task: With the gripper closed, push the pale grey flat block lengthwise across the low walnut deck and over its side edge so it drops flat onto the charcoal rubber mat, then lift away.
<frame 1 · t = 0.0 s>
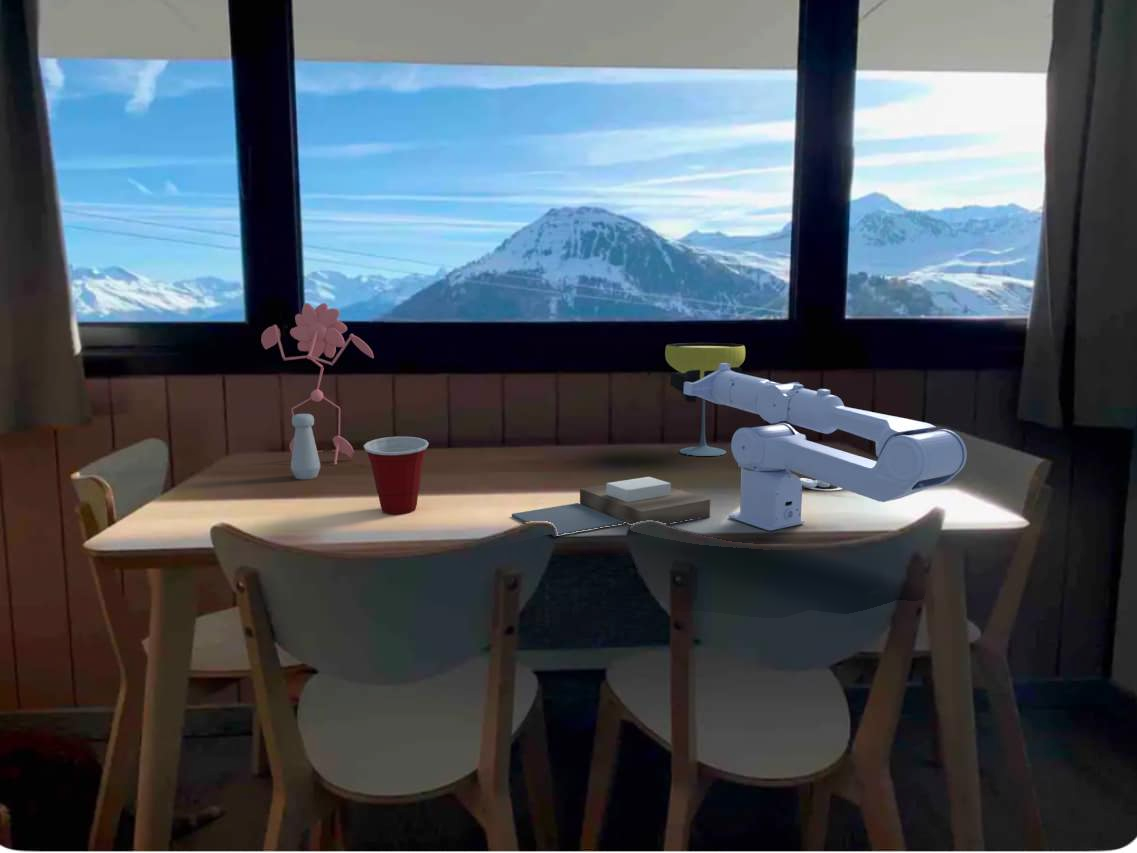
hand: (688, 377, 144), 22 cm above the table, tool horizontal, fingers open, 7 cm apart
salt shaker: (306, 478, 164), on the table
teacup and saucer: (810, 486, 157), on the table
plastic cup: (399, 511, 138), on the table
deck: (642, 511, 137), on the table
cocktail glass: (702, 453, 188), on the table
mat: (566, 520, 132), on the table
pale grey flat block: (638, 494, 136), point 3 cm above the table, touching deck
figurine: (327, 459, 183), on the table
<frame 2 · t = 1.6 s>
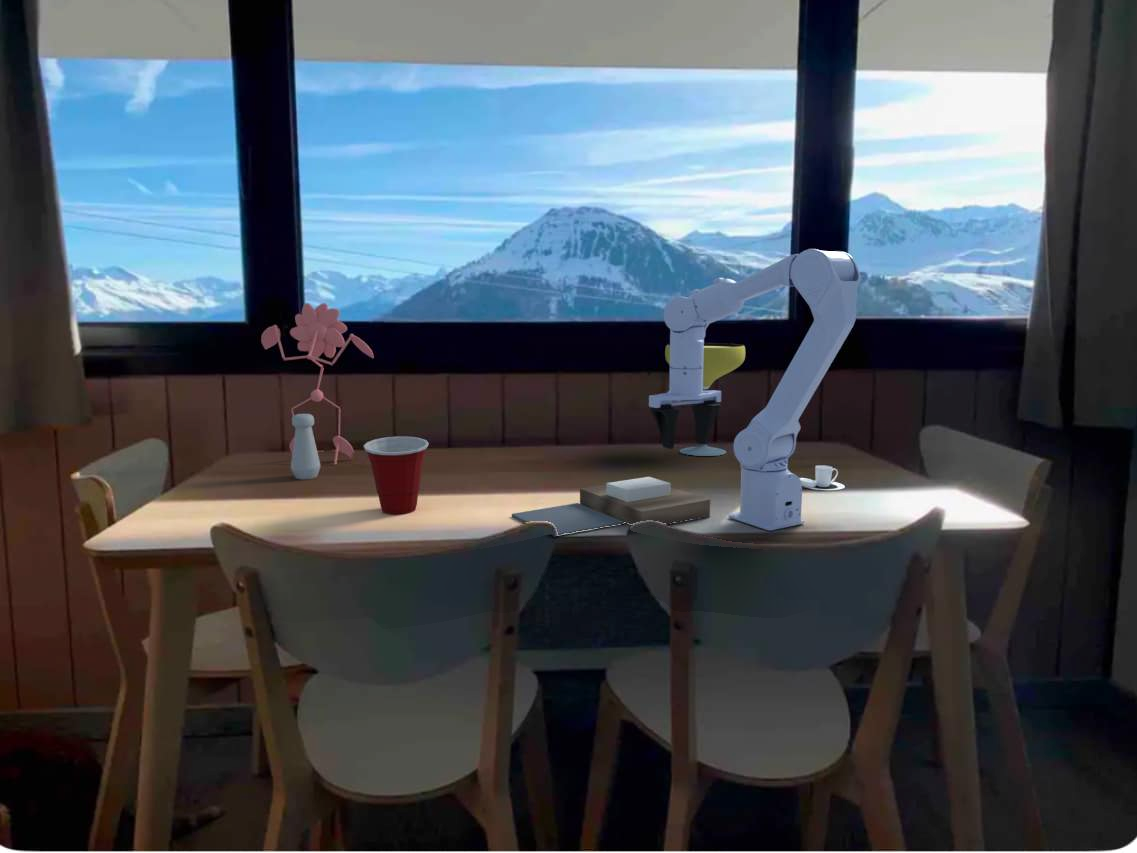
hand: (684, 445, 140), 10 cm above the table, tool pointing down, fingers open, 7 cm apart
nothing on the table moved.
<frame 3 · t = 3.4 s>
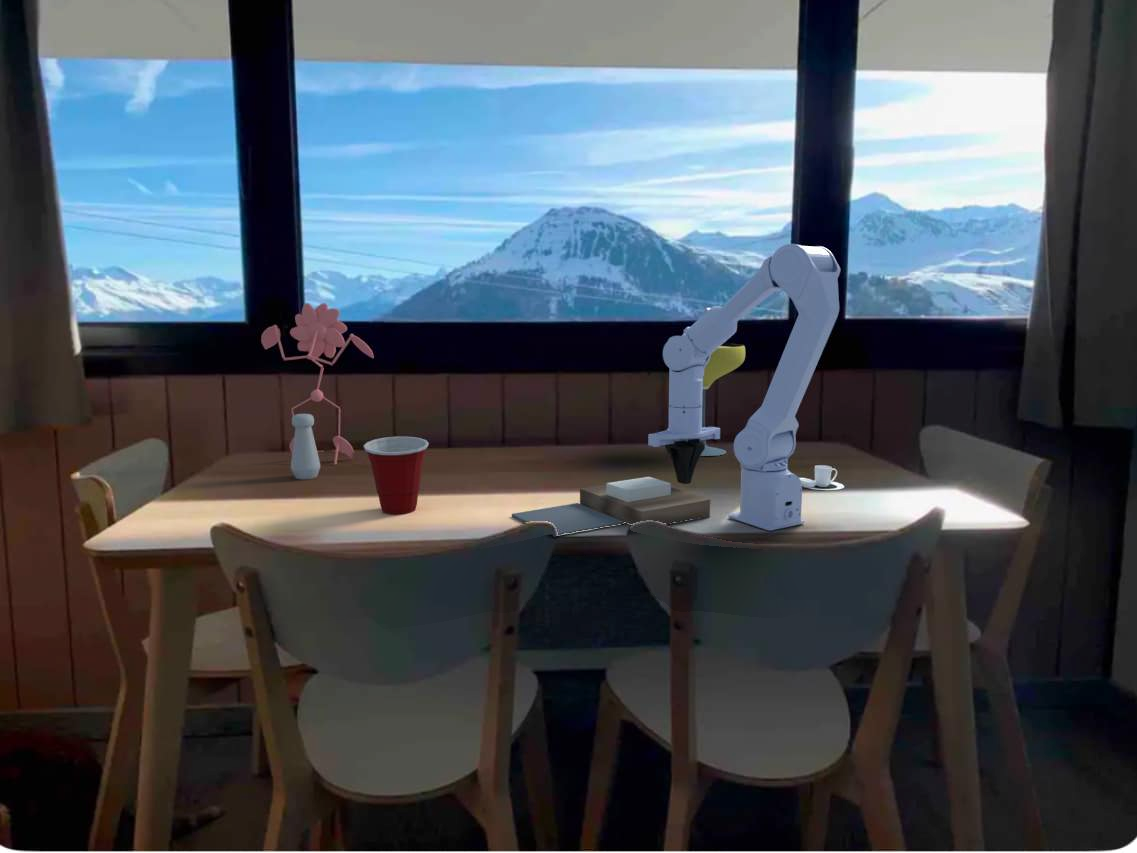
hand: (684, 482, 141), 4 cm above the table, tool pointing down, fingers closed
nothing on the table moved.
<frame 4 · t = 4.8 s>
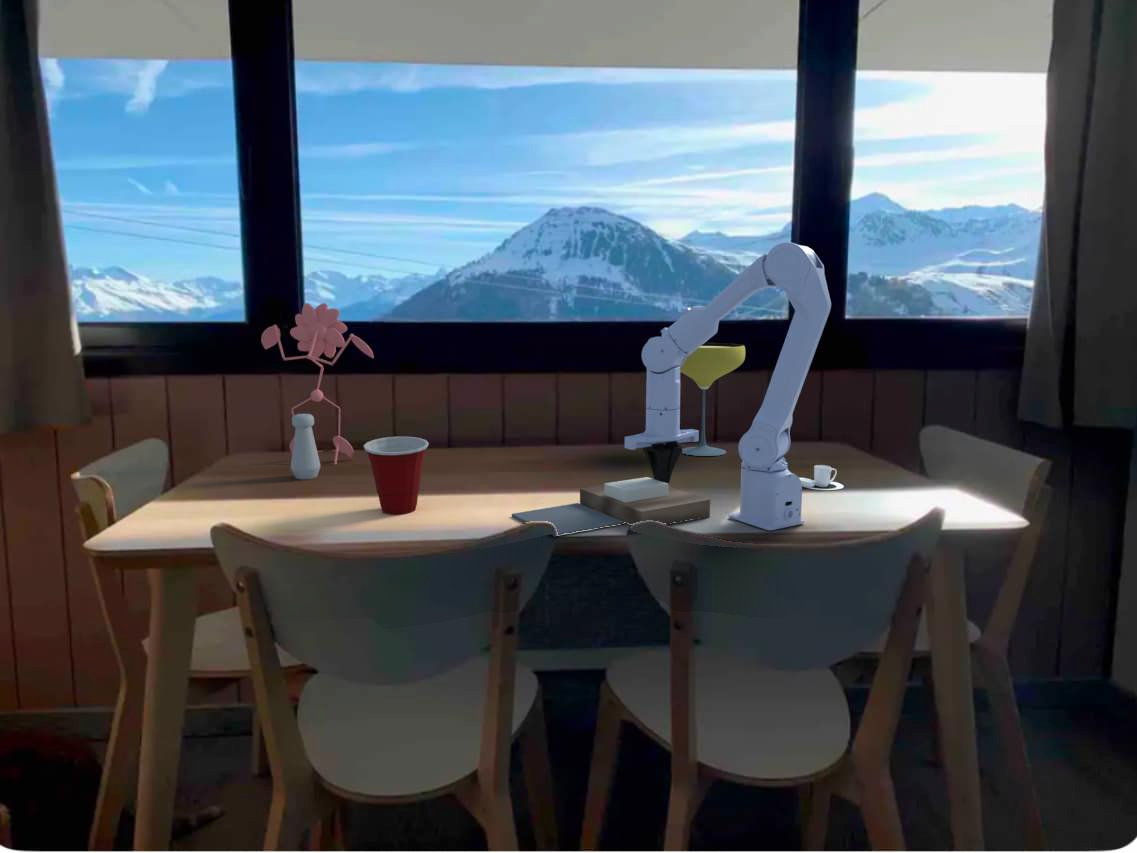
hand: (661, 486, 139), 4 cm above the table, tool pointing down, fingers closed
pale grey flat block: (636, 495, 136), point 3 cm above the table, touching deck, gripper
everything else where it was.
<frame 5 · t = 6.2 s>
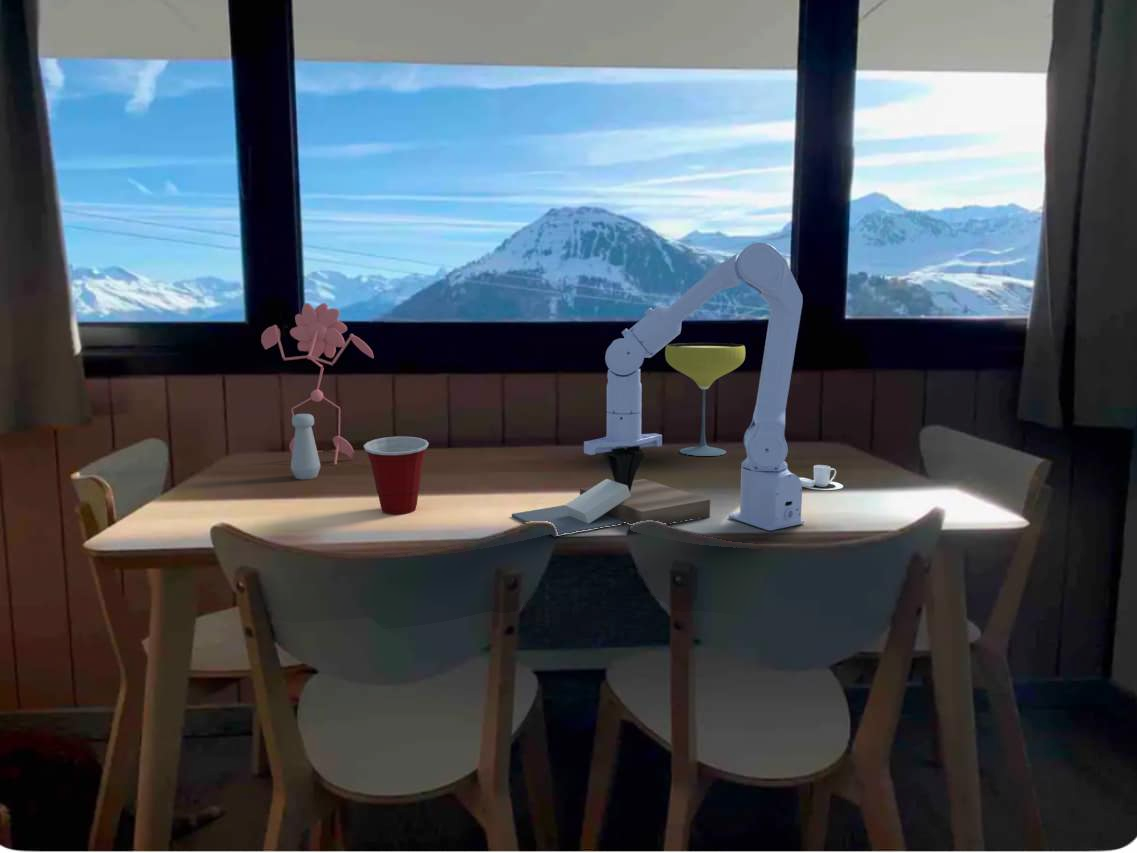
hand: (623, 492, 134), 4 cm above the table, tool pointing down, fingers closed
pale grey flat block: (599, 505, 132), point 2 cm above the table, tilted 22°, touching gripper
everything else where it was.
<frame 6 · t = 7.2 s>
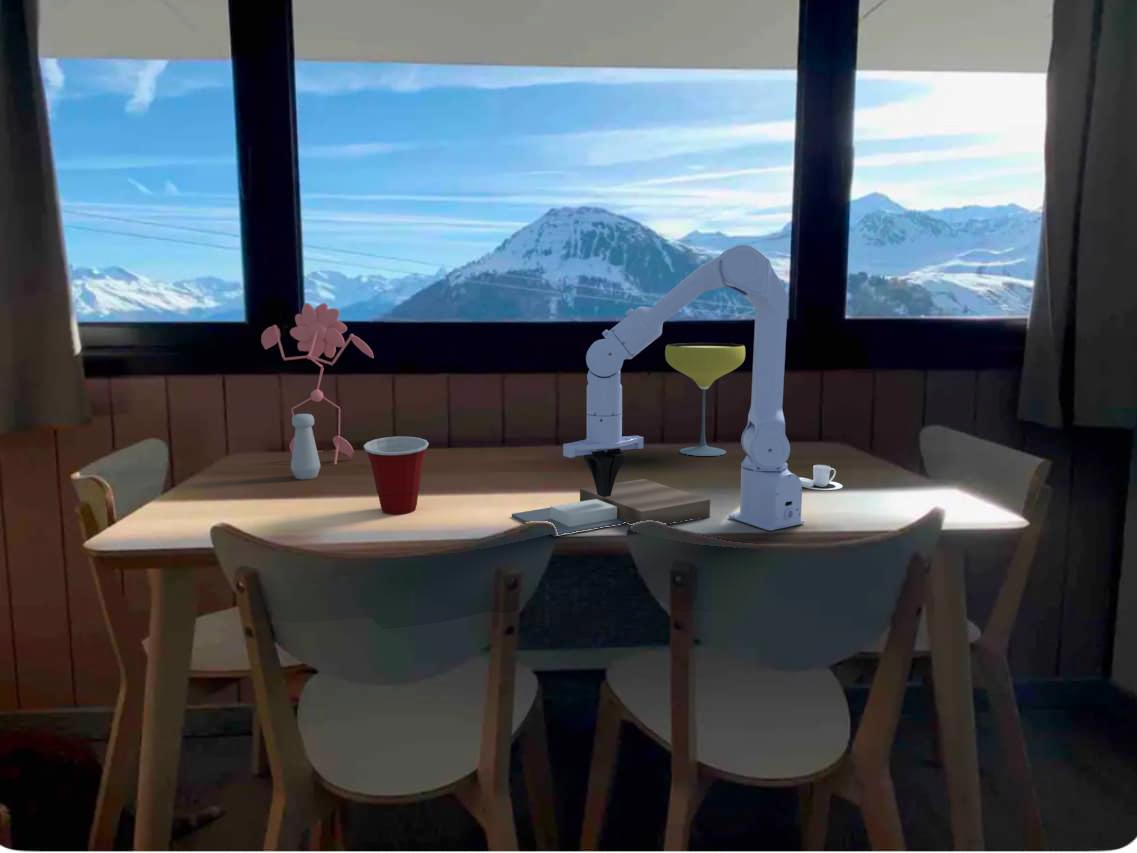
hand: (604, 495, 132), 4 cm above the table, tool pointing down, fingers closed
pale grey flat block: (583, 518, 131), resting on mat
everything else where it was.
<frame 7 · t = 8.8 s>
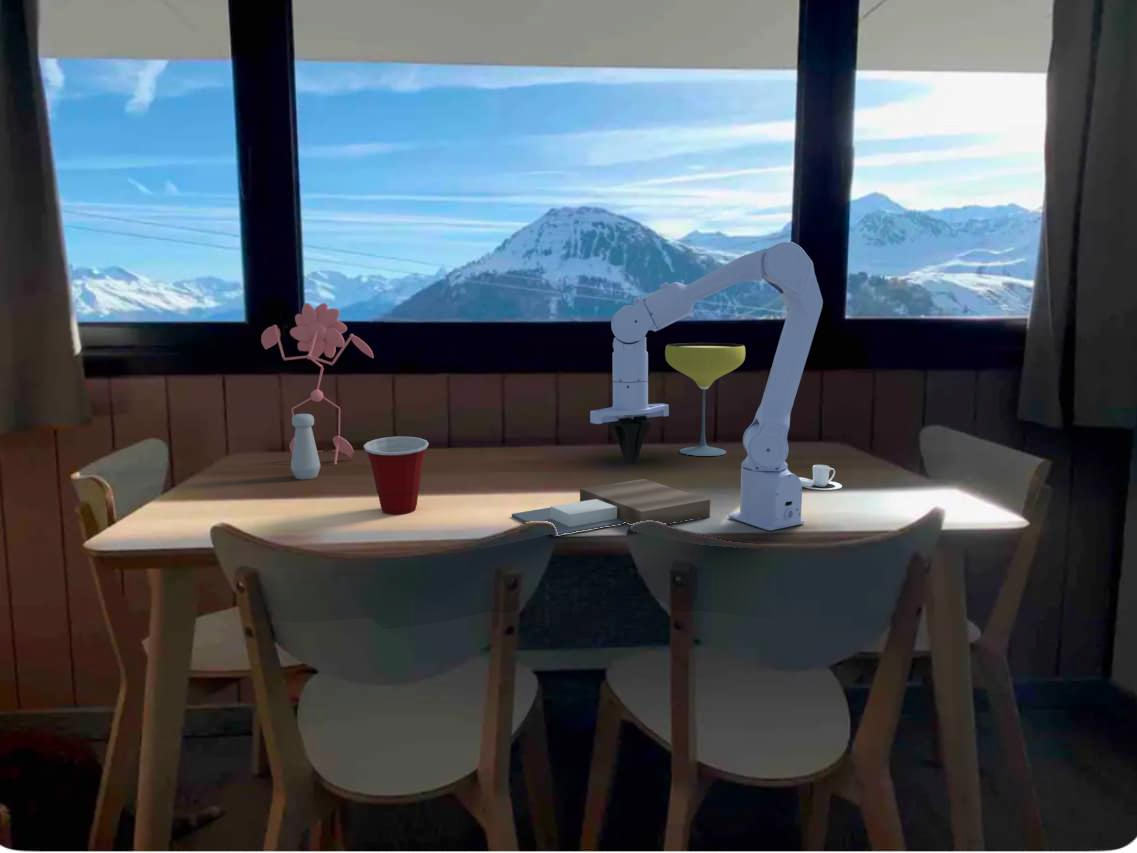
hand: (630, 462, 133), 9 cm above the table, tool pointing down, fingers closed
nothing on the table moved.
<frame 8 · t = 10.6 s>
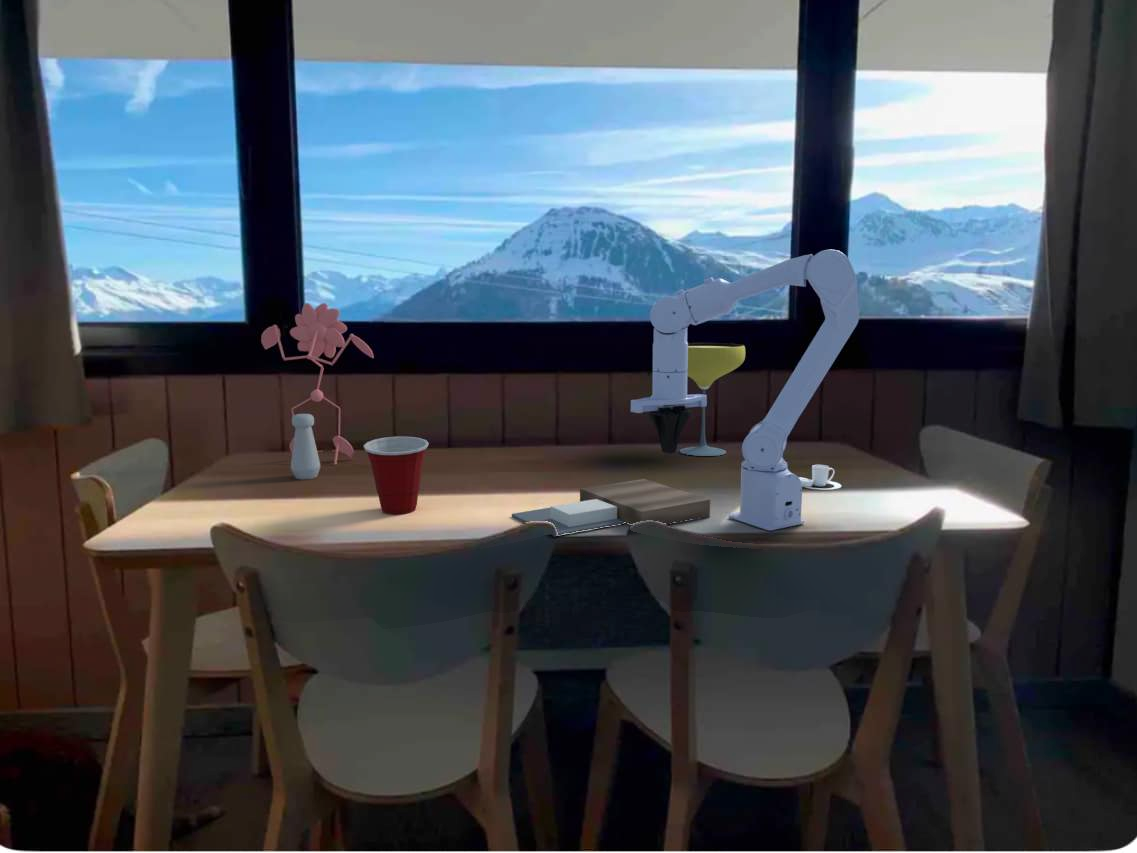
hand: (668, 452, 134), 10 cm above the table, tool pointing down, fingers closed
nothing on the table moved.
at the end: pale grey flat block inside the target area (2.8 cm from its centre), point 0.5 cm above the table; pale grey flat block touching mat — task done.
